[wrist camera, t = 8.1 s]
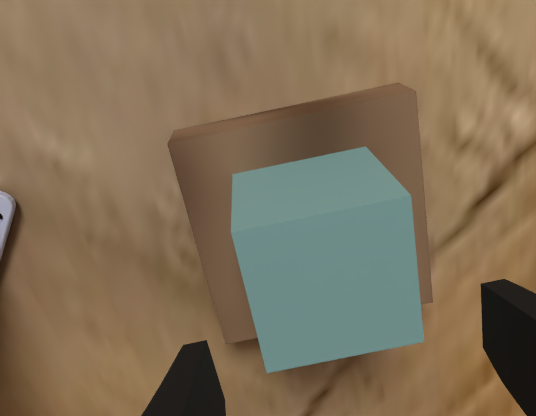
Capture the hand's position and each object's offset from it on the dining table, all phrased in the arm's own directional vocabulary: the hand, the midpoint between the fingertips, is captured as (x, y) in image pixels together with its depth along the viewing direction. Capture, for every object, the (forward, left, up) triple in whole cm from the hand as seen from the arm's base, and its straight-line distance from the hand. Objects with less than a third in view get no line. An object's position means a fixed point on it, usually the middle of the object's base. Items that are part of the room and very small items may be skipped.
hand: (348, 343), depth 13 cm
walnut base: (0, 0, -9) cm, 9 cm away
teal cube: (0, 0, -7) cm, 7 cm away
